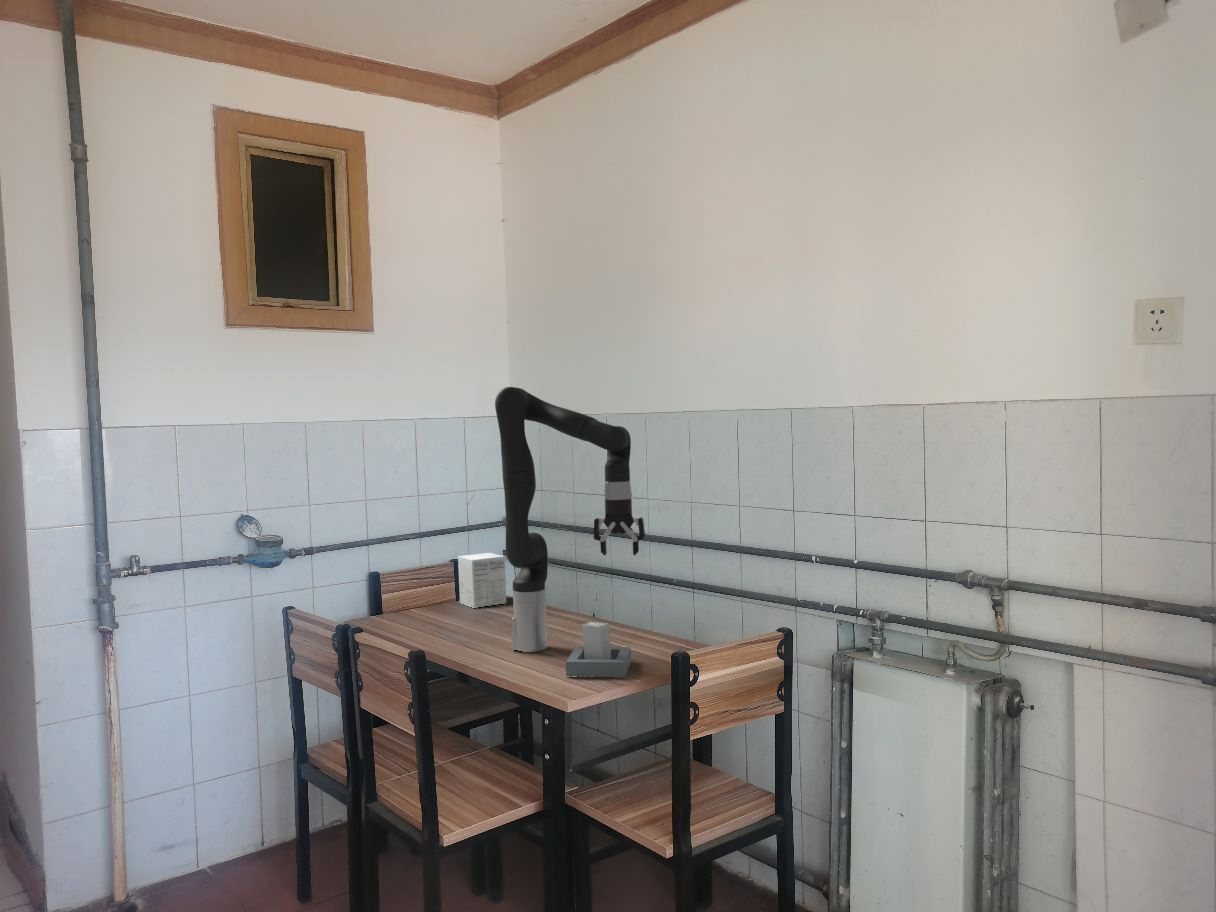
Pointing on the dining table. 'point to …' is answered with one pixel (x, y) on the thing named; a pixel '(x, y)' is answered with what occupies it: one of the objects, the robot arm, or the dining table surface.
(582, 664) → the socket block
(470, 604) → the supplement box
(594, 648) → the skincare box
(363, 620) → the dining table surface
